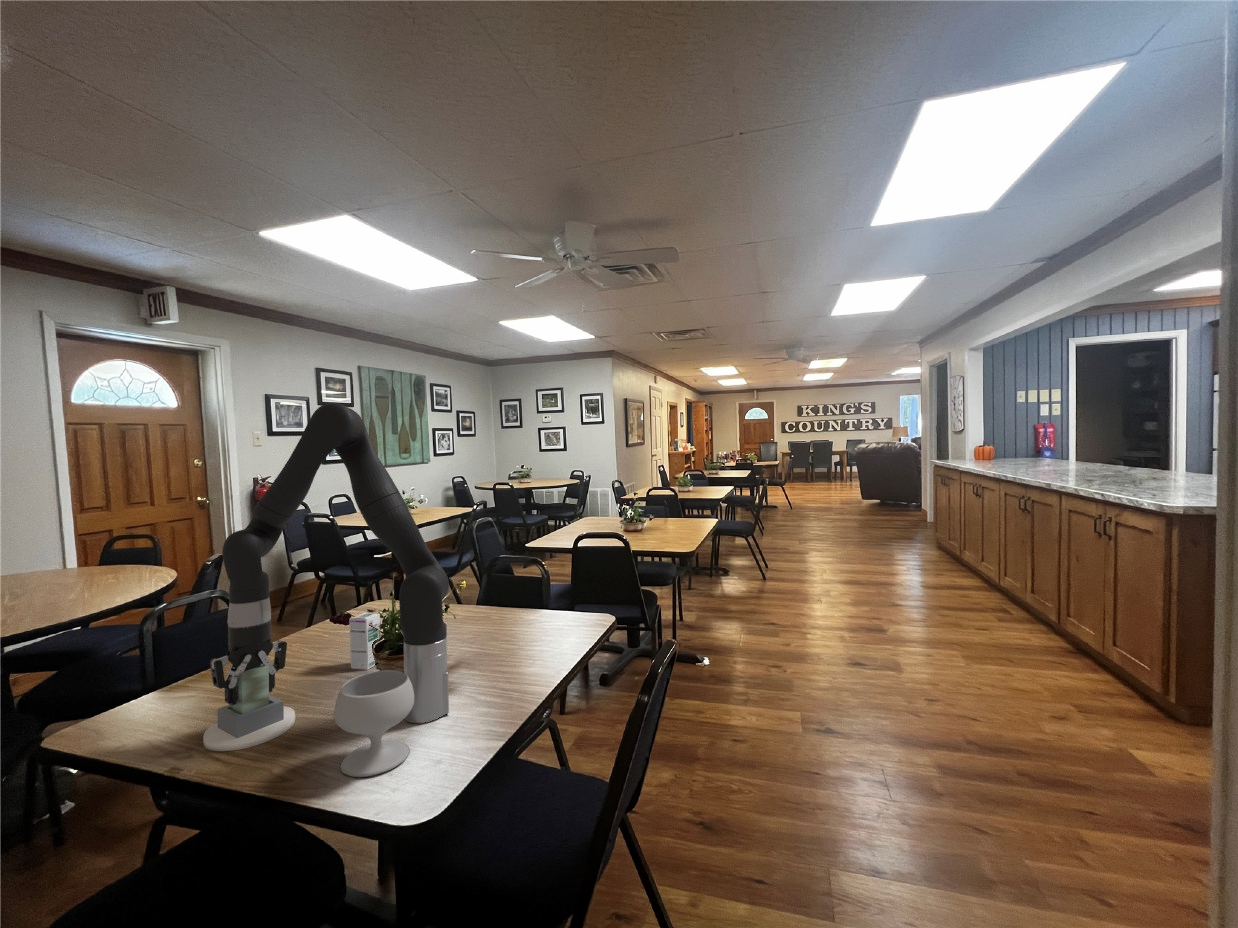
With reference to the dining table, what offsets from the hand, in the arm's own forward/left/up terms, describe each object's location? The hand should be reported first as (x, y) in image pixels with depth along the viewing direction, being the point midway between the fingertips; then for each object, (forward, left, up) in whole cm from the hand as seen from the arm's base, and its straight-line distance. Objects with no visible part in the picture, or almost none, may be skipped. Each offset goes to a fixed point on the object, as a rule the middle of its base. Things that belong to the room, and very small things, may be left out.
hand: (250, 697), depth 109 cm
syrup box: (-21, -29, -7) cm, 37 cm away
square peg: (0, 0, -6) cm, 6 cm away
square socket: (0, 0, -7) cm, 7 cm away
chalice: (-25, +24, -7) cm, 35 cm away
